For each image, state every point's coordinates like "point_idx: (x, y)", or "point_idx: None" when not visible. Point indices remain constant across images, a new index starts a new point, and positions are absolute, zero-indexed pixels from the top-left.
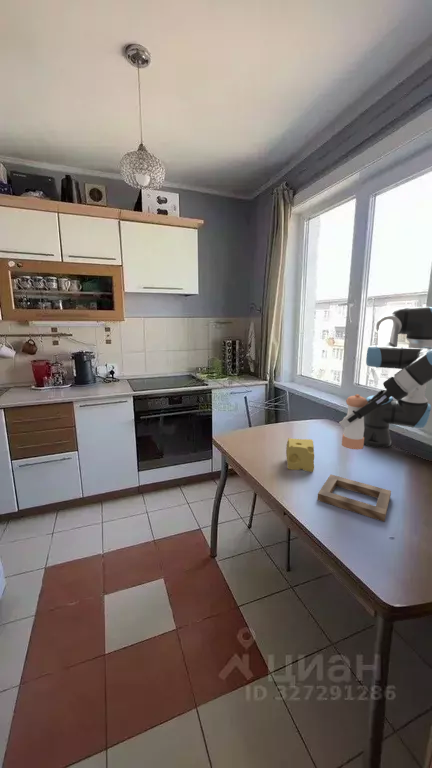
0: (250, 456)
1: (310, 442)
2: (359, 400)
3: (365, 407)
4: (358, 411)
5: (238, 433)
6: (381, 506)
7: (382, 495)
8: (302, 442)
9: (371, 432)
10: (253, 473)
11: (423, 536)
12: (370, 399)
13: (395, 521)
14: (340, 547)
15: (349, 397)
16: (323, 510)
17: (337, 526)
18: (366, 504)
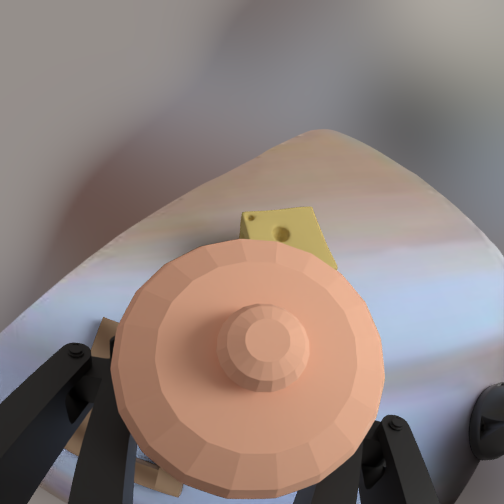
0: (271, 178)
1: None
2: (120, 376)
3: (9, 409)
4: (49, 363)
5: (367, 151)
6: None
7: (141, 471)
8: (297, 242)
9: (500, 417)
10: (192, 194)
11: (58, 496)
12: (431, 494)
13: None
14: (2, 347)
15: (233, 246)
16: (77, 333)
17: (39, 352)
18: (86, 421)
